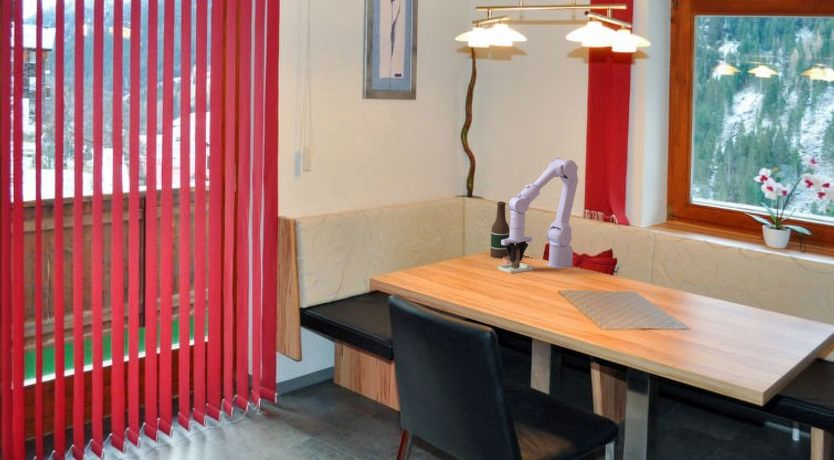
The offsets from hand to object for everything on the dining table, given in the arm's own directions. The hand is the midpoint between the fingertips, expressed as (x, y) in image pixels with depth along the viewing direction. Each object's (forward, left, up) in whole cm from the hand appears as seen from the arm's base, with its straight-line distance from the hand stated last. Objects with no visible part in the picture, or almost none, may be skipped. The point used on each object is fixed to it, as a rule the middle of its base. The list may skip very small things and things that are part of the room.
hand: (515, 260), depth 354 cm
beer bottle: (-9, -21, -4) cm, 23 cm away
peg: (0, 0, -2) cm, 3 cm away
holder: (-5, -9, -4) cm, 11 cm away
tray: (0, 0, -4) cm, 4 cm away
